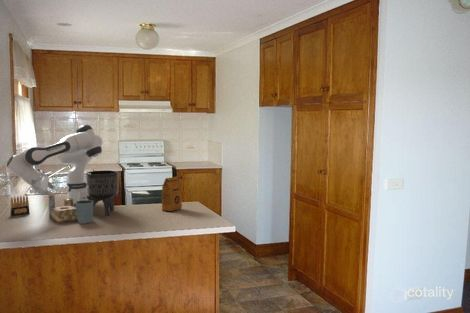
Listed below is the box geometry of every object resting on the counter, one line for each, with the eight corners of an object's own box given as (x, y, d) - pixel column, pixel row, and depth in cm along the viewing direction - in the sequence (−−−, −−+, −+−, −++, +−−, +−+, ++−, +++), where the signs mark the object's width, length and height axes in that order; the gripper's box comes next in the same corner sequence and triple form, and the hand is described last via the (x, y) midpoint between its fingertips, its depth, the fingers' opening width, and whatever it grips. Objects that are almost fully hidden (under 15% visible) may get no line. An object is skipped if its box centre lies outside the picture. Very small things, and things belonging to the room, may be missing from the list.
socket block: (69, 216, 263) (69, 205, 262) (77, 219, 255) (77, 208, 254) (51, 219, 255) (51, 208, 254) (58, 222, 247) (58, 211, 246)
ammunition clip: (11, 216, 264) (10, 197, 263) (10, 215, 265) (9, 196, 264) (29, 213, 271) (28, 195, 270) (28, 213, 272) (27, 194, 271)
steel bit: (54, 216, 264) (53, 193, 262) (56, 217, 261) (55, 194, 260) (48, 217, 261) (47, 194, 260) (50, 218, 259) (49, 195, 257)
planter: (102, 209, 285) (101, 169, 283) (125, 211, 277) (125, 171, 274) (80, 214, 268) (79, 173, 265) (104, 218, 259) (103, 175, 257)
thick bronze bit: (71, 213, 271) (71, 198, 270) (75, 215, 267) (74, 199, 266) (62, 215, 267) (62, 199, 266) (66, 216, 263) (65, 200, 262)
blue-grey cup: (83, 224, 244) (82, 203, 243) (72, 222, 249) (71, 202, 248) (97, 221, 252) (97, 201, 251) (86, 218, 258) (85, 199, 256)
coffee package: (184, 209, 285) (183, 176, 283) (170, 212, 275) (169, 178, 273) (173, 207, 291) (173, 175, 289) (159, 210, 281) (159, 177, 279)
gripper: (34, 181, 240) (54, 195, 246) (38, 167, 258) (57, 180, 264) (26, 188, 240) (47, 202, 246) (31, 174, 258) (50, 187, 264)
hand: (52, 191), depth 255 cm, fingers open, 8 cm apart
